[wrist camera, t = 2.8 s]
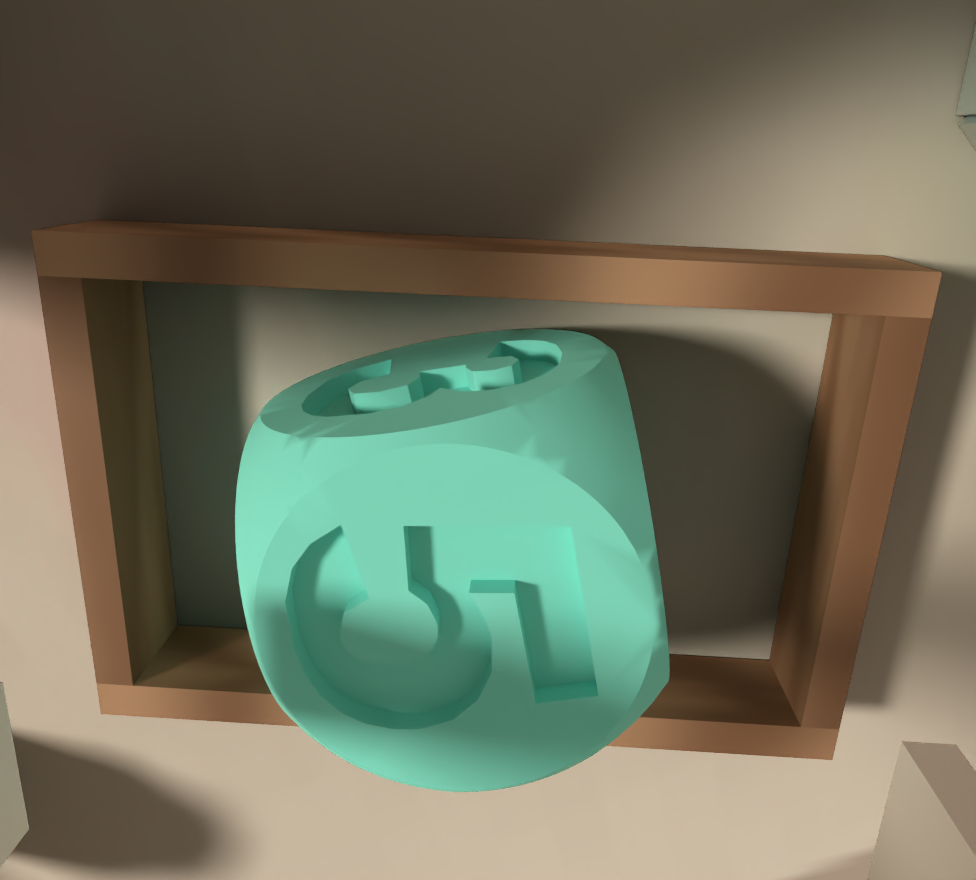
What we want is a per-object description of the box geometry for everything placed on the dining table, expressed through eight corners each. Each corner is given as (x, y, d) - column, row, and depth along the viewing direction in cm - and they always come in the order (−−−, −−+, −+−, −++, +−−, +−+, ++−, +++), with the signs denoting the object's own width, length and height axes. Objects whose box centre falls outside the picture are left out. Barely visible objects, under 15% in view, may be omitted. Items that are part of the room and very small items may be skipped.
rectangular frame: (148, 651, 25) (101, 713, 22) (97, 219, 21) (31, 230, 18) (797, 690, 25) (832, 760, 22) (884, 255, 20) (941, 272, 18)
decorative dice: (635, 578, 24) (686, 776, 16) (371, 614, 25) (302, 819, 17) (599, 309, 21) (639, 397, 14) (304, 360, 22) (189, 469, 14)
